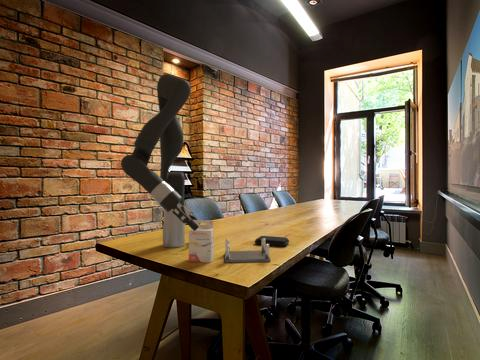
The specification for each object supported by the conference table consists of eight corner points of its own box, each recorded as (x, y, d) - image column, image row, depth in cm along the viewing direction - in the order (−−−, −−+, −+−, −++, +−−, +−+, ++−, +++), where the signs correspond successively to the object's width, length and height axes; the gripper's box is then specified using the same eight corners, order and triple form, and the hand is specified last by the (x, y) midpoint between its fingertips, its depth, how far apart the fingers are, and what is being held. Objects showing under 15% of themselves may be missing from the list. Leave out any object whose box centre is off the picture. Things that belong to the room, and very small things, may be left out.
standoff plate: (225, 262, 101) (225, 246, 101) (224, 253, 113) (224, 239, 112) (270, 261, 102) (270, 245, 102) (265, 252, 114) (265, 238, 113)
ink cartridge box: (188, 262, 102) (187, 221, 102) (191, 258, 107) (191, 219, 107) (211, 262, 101) (211, 222, 101) (214, 258, 106) (213, 219, 106)
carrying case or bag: (290, 243, 131) (260, 240, 137) (290, 236, 131) (260, 234, 137) (285, 248, 122) (253, 245, 127) (285, 241, 122) (253, 238, 127)
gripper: (169, 189, 96) (203, 222, 97) (176, 188, 110) (206, 216, 111) (154, 205, 96) (188, 238, 97) (163, 202, 110) (193, 230, 111)
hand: (198, 226), depth 104 cm, fingers open, 8 cm apart
